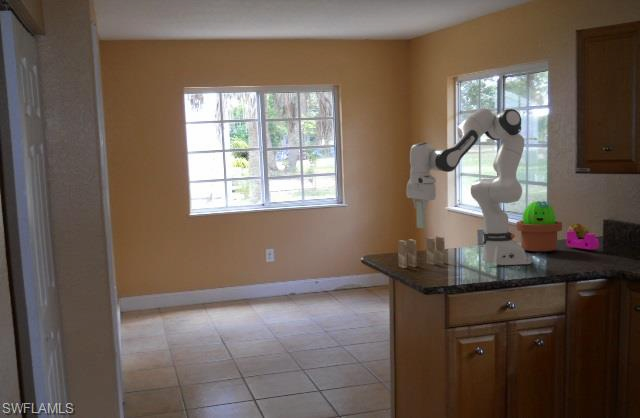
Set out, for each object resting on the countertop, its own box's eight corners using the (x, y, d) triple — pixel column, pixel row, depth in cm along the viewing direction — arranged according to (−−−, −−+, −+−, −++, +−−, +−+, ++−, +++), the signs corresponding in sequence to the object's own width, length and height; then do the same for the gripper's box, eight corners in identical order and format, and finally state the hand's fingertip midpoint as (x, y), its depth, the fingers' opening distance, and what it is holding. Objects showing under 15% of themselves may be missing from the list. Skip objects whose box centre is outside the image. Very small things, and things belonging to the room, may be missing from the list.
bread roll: (563, 235, 381) (563, 221, 380) (578, 234, 383) (578, 220, 382) (577, 238, 368) (577, 223, 367) (592, 237, 370) (592, 222, 370)
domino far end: (401, 265, 304) (401, 240, 303) (407, 267, 300) (406, 241, 299) (398, 266, 304) (397, 240, 303) (403, 268, 299) (403, 241, 298)
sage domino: (422, 228, 301) (421, 202, 300) (416, 227, 306) (416, 201, 305) (425, 228, 302) (424, 201, 301) (419, 226, 306) (419, 201, 305)
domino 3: (438, 261, 312) (438, 236, 311) (444, 263, 307) (444, 237, 306) (436, 261, 311) (435, 236, 310) (441, 263, 307) (441, 237, 305)
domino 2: (429, 262, 310) (429, 237, 309) (435, 264, 305) (435, 238, 304) (426, 263, 309) (426, 237, 308) (432, 264, 305) (432, 238, 304)
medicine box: (493, 244, 356) (493, 228, 355) (492, 245, 352) (492, 229, 351) (478, 244, 359) (478, 228, 358) (477, 245, 355) (477, 229, 354)
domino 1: (411, 264, 306) (410, 239, 305) (416, 266, 302) (416, 240, 300) (408, 265, 306) (407, 239, 304) (413, 266, 301) (413, 240, 300)
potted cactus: (516, 245, 351) (516, 198, 348) (560, 245, 345) (560, 197, 342) (516, 252, 330) (516, 202, 327) (563, 252, 324) (563, 201, 321)
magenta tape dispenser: (598, 248, 334) (598, 233, 333) (589, 249, 332) (589, 234, 331) (575, 244, 348) (575, 230, 347) (566, 245, 345) (566, 231, 344)
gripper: (402, 178, 310) (403, 207, 311) (425, 179, 291) (426, 211, 293) (414, 177, 312) (415, 206, 314) (438, 179, 294) (438, 210, 295)
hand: (420, 208), depth 303 cm, fingers closed on sage domino, 5 cm apart
